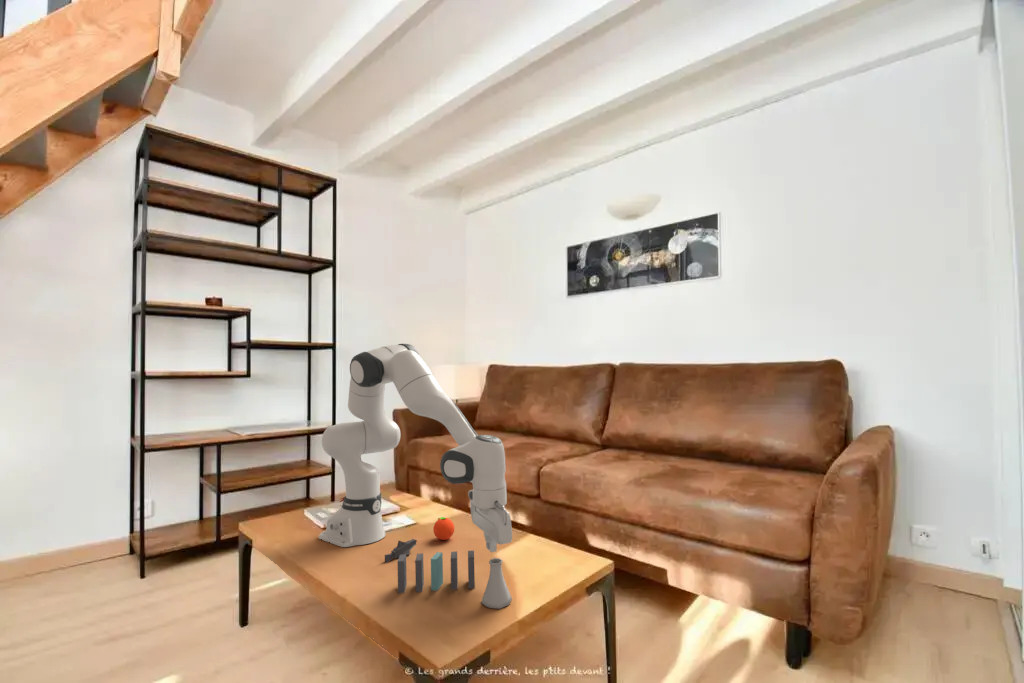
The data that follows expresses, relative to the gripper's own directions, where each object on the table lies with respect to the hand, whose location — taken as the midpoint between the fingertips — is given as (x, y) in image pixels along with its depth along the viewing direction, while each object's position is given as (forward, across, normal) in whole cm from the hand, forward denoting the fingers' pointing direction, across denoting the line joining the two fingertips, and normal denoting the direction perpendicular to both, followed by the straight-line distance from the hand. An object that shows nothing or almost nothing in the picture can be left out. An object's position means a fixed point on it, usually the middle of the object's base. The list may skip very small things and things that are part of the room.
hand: (491, 550), depth 128 cm
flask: (+9, -9, +3) cm, 13 cm away
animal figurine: (+9, +30, +18) cm, 36 cm away
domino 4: (+9, +4, +9) cm, 13 cm away
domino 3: (+9, +6, +13) cm, 17 cm away
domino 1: (+9, +9, +22) cm, 25 cm away
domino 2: (+9, +7, +18) cm, 21 cm away
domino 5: (+9, +2, +5) cm, 10 cm away
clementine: (+9, +37, +2) cm, 38 cm away
